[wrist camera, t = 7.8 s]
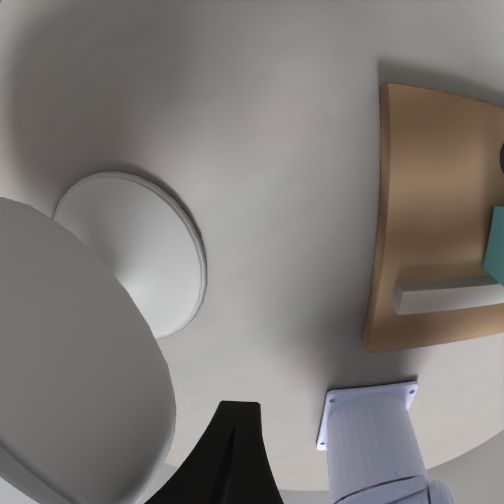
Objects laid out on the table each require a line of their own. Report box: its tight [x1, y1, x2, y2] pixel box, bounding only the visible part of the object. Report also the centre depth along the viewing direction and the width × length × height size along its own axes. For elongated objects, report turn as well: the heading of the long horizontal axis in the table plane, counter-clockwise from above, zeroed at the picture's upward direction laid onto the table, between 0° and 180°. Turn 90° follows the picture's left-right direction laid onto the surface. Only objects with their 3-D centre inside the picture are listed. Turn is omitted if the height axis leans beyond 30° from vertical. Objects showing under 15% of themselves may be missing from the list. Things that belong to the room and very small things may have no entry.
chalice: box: [0, 171, 207, 504], centre depth 12 cm, size 14×14×15 cm
